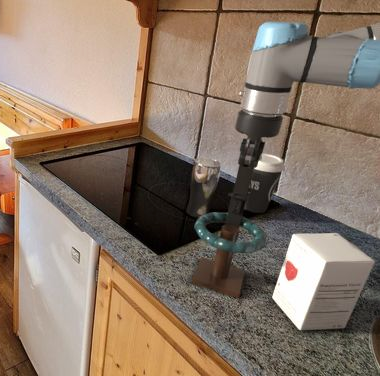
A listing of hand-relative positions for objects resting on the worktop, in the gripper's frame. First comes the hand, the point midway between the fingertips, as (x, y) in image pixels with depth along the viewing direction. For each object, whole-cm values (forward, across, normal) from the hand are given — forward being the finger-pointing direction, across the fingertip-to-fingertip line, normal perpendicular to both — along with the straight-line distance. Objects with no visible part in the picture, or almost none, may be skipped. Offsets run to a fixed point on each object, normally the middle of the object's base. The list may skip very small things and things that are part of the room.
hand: (233, 222), depth 85 cm
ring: (-1, +5, 0) cm, 5 cm away
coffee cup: (+11, -34, +3) cm, 36 cm away
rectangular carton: (+11, +8, +16) cm, 21 cm away
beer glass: (+11, -22, -10) cm, 27 cm away
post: (+11, +6, 0) cm, 12 cm away
